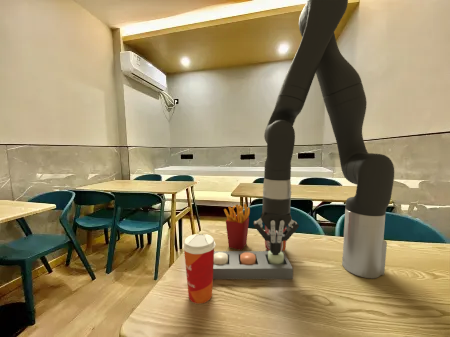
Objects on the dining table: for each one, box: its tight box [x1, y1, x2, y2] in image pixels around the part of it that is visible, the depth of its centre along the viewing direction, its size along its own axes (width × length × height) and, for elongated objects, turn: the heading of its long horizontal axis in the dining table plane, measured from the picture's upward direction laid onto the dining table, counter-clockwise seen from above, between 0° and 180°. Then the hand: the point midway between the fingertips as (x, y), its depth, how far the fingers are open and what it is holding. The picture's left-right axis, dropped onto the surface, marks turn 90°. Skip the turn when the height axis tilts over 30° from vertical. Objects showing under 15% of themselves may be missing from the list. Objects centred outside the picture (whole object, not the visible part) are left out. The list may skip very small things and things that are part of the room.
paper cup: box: [182, 233, 217, 305], centre depth 48 cm, size 8×8×14 cm
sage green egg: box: [267, 250, 284, 264], centre depth 59 cm, size 4×4×3 cm
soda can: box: [264, 225, 287, 252], centre depth 69 cm, size 7×7×12 cm
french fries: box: [223, 203, 251, 251], centre depth 73 cm, size 9×8×15 cm
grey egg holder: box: [213, 250, 294, 280], centre depth 59 cm, size 23×9×3 cm, turn 89°
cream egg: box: [214, 252, 229, 265], centre depth 59 cm, size 4×4×3 cm
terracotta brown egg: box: [239, 252, 256, 265], centre depth 59 cm, size 4×4×3 cm
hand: (274, 253), depth 58 cm, fingers closed
